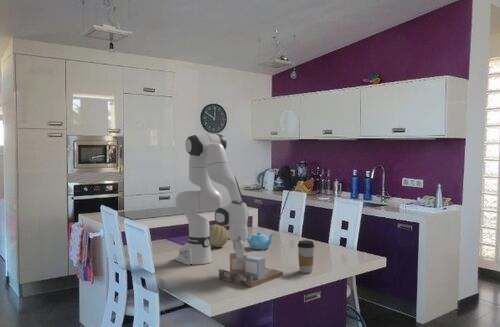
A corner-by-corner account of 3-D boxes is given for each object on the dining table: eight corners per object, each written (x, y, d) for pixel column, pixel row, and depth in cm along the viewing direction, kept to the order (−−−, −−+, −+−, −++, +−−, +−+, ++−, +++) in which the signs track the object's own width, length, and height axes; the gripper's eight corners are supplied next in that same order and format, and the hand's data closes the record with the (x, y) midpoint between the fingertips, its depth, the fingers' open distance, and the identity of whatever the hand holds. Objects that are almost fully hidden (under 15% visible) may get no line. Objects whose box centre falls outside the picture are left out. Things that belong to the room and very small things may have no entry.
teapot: (266, 245, 275) (266, 229, 274) (274, 250, 260) (274, 233, 260) (244, 246, 270) (244, 230, 270) (252, 251, 256) (252, 234, 256)
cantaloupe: (202, 249, 262) (202, 225, 262) (207, 244, 277) (207, 221, 276) (226, 250, 260) (225, 225, 260) (229, 245, 275) (229, 222, 274)
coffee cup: (317, 272, 209) (317, 242, 209) (302, 274, 207) (302, 244, 206) (309, 268, 217) (309, 239, 217) (294, 270, 214) (294, 240, 214)
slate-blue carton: (251, 274, 200) (251, 255, 200) (265, 277, 195) (265, 258, 195) (244, 276, 196) (244, 257, 196) (257, 280, 191) (257, 260, 191)
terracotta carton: (229, 271, 204) (229, 253, 204) (246, 271, 205) (246, 252, 205) (230, 275, 199) (230, 256, 199) (247, 274, 200) (247, 255, 200)
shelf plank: (218, 279, 199) (218, 269, 199) (251, 268, 218) (251, 259, 218) (250, 287, 186) (250, 277, 186) (282, 275, 205) (282, 266, 205)
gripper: (247, 239, 192) (247, 269, 192) (243, 230, 212) (243, 258, 212) (233, 239, 191) (233, 269, 191) (230, 231, 211) (230, 258, 212)
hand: (238, 263), depth 202 cm, fingers open, 8 cm apart
